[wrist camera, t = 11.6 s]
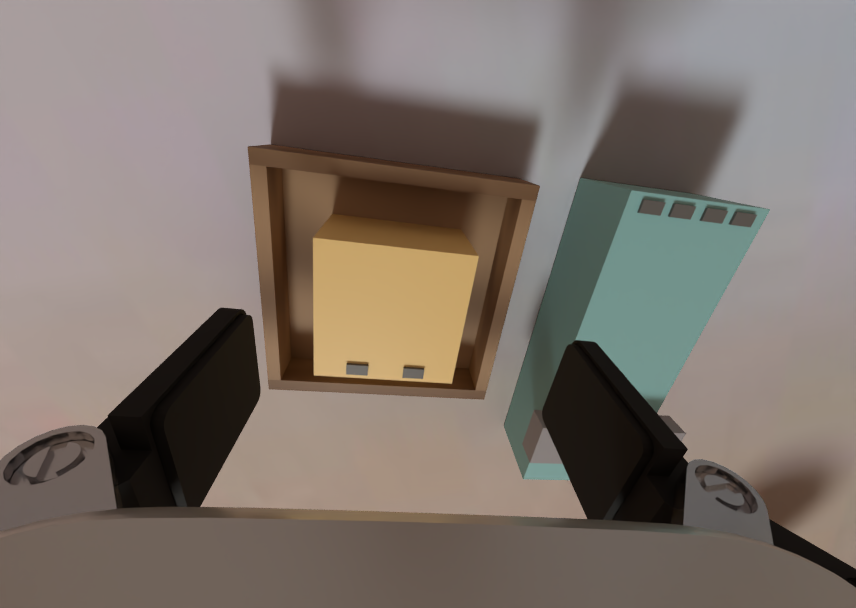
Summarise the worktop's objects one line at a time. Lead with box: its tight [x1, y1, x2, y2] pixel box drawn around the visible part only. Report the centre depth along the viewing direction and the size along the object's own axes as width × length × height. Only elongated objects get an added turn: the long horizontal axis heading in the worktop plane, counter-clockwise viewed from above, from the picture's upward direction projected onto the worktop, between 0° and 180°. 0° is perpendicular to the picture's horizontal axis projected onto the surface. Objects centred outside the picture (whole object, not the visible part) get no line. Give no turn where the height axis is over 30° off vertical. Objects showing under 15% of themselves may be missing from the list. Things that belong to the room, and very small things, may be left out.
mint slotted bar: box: [504, 178, 770, 480], centre depth 18 cm, size 16×8×5 cm, turn 172°
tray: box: [248, 145, 540, 399], centre depth 17 cm, size 11×11×2 cm
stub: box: [313, 214, 479, 384], centre depth 15 cm, size 6×6×4 cm
